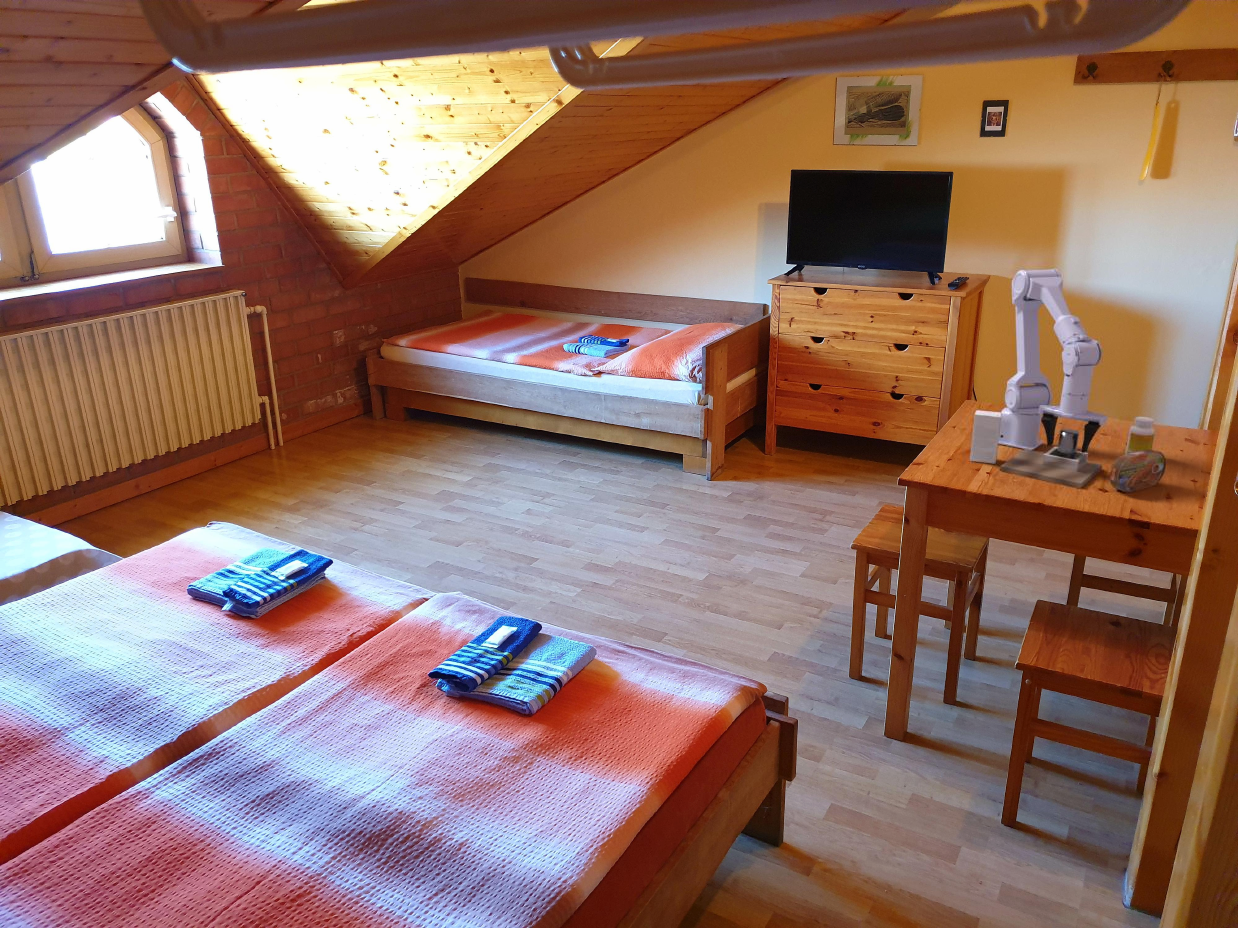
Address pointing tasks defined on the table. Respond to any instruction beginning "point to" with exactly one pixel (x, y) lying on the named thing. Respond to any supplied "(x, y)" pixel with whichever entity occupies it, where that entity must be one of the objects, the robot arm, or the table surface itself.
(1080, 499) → the table surface
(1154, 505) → the table surface
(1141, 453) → the tin
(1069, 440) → the grey metal cylinder
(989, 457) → the skincare box
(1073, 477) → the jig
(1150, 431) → the supplement bottle
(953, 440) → the table surface
